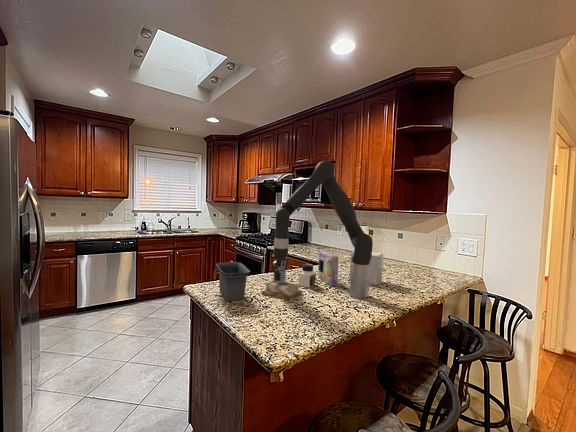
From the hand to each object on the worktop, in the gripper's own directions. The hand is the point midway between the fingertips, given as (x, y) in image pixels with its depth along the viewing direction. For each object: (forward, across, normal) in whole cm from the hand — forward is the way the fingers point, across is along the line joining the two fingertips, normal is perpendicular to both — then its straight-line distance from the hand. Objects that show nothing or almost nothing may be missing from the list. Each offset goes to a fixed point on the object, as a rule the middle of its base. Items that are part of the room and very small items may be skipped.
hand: (279, 279), depth 153 cm
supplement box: (+7, +54, -32) cm, 63 cm away
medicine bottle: (+7, +22, -6) cm, 24 cm away
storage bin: (+7, -18, +18) cm, 27 cm away
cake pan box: (+7, +36, -13) cm, 39 cm away
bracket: (+5, 0, -2) cm, 5 cm away
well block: (+7, 0, -2) cm, 7 cm away
